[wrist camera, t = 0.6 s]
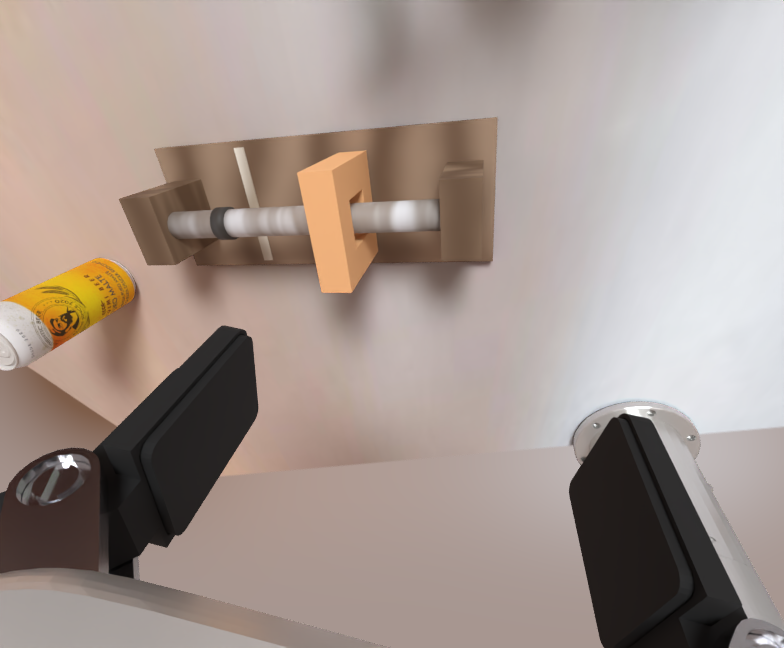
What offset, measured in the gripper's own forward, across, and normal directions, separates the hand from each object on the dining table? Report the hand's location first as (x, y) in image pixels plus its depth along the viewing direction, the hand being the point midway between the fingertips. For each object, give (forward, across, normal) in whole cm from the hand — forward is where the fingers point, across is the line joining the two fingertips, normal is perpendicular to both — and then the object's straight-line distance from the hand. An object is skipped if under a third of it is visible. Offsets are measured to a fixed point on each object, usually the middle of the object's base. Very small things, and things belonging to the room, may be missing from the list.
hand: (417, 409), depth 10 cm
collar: (+28, +8, +4) cm, 29 cm away
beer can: (+30, +38, +19) cm, 52 cm away
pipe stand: (+29, +12, +5) cm, 32 cm away
